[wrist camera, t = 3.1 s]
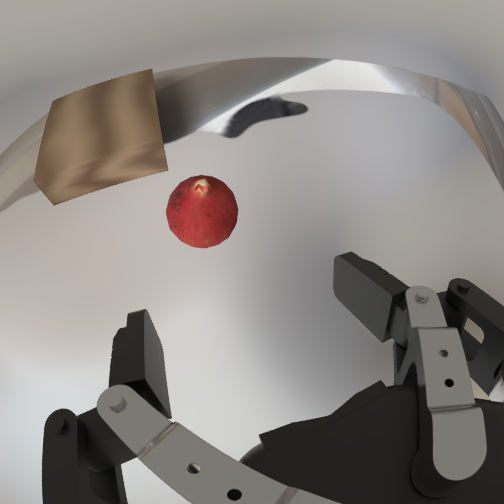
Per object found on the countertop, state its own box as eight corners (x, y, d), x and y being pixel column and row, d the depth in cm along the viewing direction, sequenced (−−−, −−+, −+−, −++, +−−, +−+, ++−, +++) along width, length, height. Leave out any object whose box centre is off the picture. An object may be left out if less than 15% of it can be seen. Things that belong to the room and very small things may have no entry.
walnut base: (54, 205, 24) (33, 181, 20) (64, 125, 29) (52, 100, 24) (168, 170, 28) (162, 138, 23) (155, 97, 32) (152, 68, 27)
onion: (167, 256, 24) (149, 214, 17) (178, 202, 26) (168, 147, 19) (231, 263, 25) (238, 223, 17) (237, 207, 27) (245, 154, 19)
